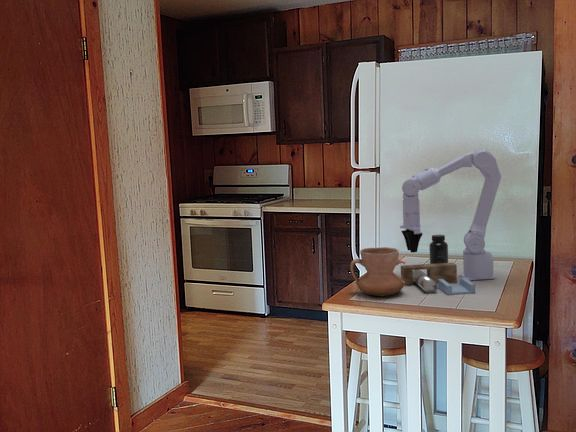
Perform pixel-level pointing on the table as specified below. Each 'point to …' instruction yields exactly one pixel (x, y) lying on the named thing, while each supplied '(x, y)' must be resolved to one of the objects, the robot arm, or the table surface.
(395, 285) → the ceramic jug
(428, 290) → the axle
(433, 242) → the supplement bottle
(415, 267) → the beam
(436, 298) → the table surface
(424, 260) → the table surface
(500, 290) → the table surface
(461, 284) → the cradle
